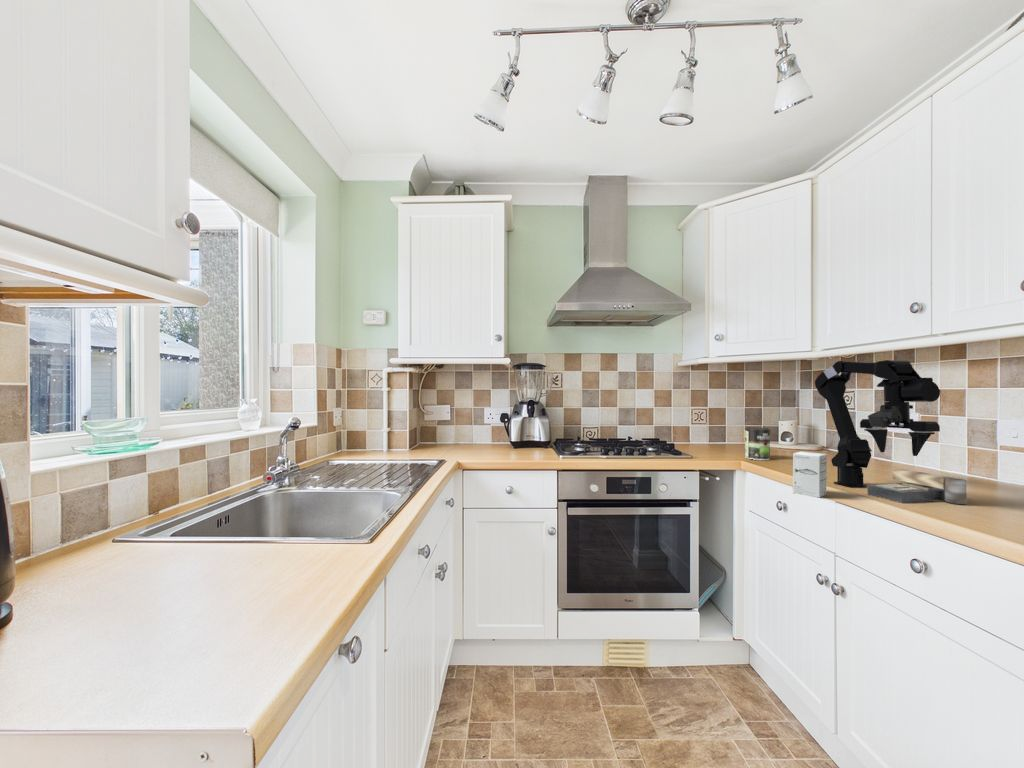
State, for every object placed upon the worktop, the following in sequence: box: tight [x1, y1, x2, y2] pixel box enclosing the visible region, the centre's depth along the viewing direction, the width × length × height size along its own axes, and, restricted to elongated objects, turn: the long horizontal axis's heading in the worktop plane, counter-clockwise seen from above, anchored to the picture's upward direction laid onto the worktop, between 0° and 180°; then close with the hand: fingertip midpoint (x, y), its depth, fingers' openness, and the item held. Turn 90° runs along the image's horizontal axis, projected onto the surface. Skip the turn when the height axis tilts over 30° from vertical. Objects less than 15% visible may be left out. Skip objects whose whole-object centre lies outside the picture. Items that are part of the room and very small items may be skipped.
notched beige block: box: [892, 468, 967, 505], centre depth 133 cm, size 18×4×6 cm, turn 11°
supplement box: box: [792, 450, 828, 499], centre depth 137 cm, size 7×7×13 cm
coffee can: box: [744, 427, 771, 461], centre depth 205 cm, size 10×10×14 cm
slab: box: [867, 482, 945, 504], centre depth 133 cm, size 10×20×3 cm, turn 101°
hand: (898, 454), depth 132 cm, fingers open, 9 cm apart
